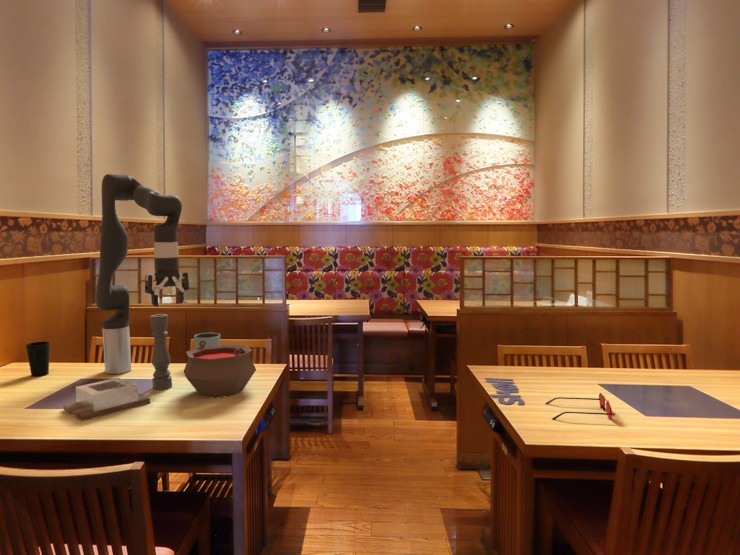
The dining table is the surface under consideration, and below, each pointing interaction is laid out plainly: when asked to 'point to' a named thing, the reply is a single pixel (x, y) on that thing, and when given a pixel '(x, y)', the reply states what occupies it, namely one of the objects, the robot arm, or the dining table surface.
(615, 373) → the dining table surface
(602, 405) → the glasses
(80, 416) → the socket board
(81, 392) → the square collar
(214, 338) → the grey cylindrical container
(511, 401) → the signage
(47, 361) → the cup
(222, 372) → the brown cauldron
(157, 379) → the candle holder
